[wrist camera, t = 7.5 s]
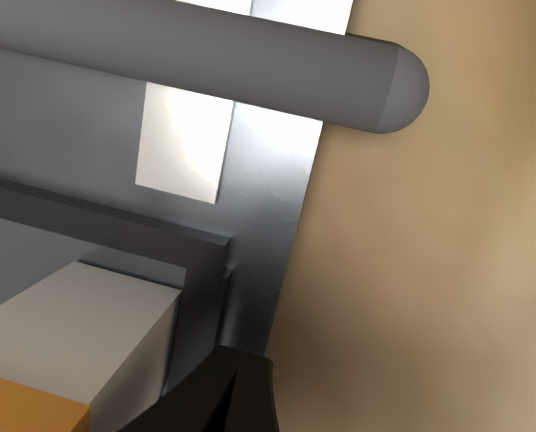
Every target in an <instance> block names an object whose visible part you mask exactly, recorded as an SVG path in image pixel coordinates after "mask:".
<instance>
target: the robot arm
mask: <svg viewBox="0 0 536 432" xmlns="http://www.w3.org/2000/svg"><path fill="white" fill-rule="evenodd" d="M272 369H273V363H272V362H271V360H270V359H269V358H266V357H262V356H259V355H256V354H252V353H249V352H245V351H242V350H238V349H235V348H231V347H228V346H224V345H219V346H217V347H215V348H214V349H213V350H212V352H211V353H210V354H209V355H208V356H207V357H206V358H205V359H204V360H203V361H202V362H201V363H200V364H199V365H198V366H197V367H196V368H195V369H194V370H193V371H192V372H191V373H190V374H188V375H187V376H186V377H185V378H184V379H183V380H182V381H181V382H179V383H178V384H177V385H176V386H175V387H174V388H172V389H171V390H170V391H169V392H168V393H167V394H166V395H164V396H163V397H162V398H161V399H159V400H158V401H157V402H156V403H154V404H153V405H152V406H150V407H149V408H148V409H146V410H145V411H144V412H143V413H141V414H140V415H139V416H137V417H136V418H135V419H133V420H132V421H131V422H129V423H128V424H127V425H125V426H124V427H122V428H121V429H119V430H118V431H117V432H279V426H278V421H277V416H276V409H275V403H274V394H273V382H272Z"/></svg>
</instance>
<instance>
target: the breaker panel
mask: <svg viewBox="0 0 536 432" xmlns="http://www.w3.org/2000/svg"><path fill="white" fill-rule="evenodd" d="M176 1H181V2H186V3H191V4H196V5H200V6H205V7H210V8H215V9H220V10H225V11H230V12H234V13H239V14H244V15H249V16H254V17H259V18H264V19H268V20H273V21H278V22H283V23H288V24H293V25H298V26H302V27H307V28H312V29H317V30H322V31H327V32H332V33H336V34H341V35H345V32H346V30H347V26H348V22H349V18H350V14H351V10H352V6H353V2H354V0H176ZM322 126H323V121H319V120H314V119H310V118H305V117H301V116H297V115H292V114H288V113H283V112H279V111H275V110H270V109H266V108H261V107H257V106H252V105H248V104H244V103H239V102H235V101H230V100H226V99H222V98H217V97H213V96H208V95H204V94H200V93H195V92H191V91H186V90H182V89H177V88H173V87H169V86H164V85H160V84H155V83H151V82H147V81H142V80H138V79H133V78H129V77H124V76H120V75H116V74H111V73H107V72H102V71H98V70H94V69H89V68H85V67H80V66H76V65H72V64H67V63H63V62H58V61H54V60H49V59H45V58H41V57H36V56H32V55H27V54H23V53H19V52H14V51H10V50H5V49H1V48H0V305H1V304H3V303H4V302H6V301H8V300H9V299H11V298H13V297H14V296H16V295H18V294H20V293H21V292H23V291H25V290H26V289H28V288H30V287H31V286H33V285H35V284H36V283H38V282H40V281H41V280H43V279H45V278H46V277H48V276H50V275H51V274H53V273H55V272H57V271H58V270H60V269H62V268H63V267H65V266H67V265H68V264H70V263H72V262H73V261H76V262H80V263H83V264H87V265H90V266H94V267H98V268H101V269H105V270H109V271H112V272H116V273H120V274H123V275H127V276H131V277H134V278H138V279H142V280H145V281H149V282H153V283H156V284H160V285H163V286H167V287H171V288H174V289H178V290H182V293H181V299H180V305H179V311H178V317H177V323H176V329H175V335H174V341H173V347H172V353H171V359H170V365H169V371H168V377H167V383H166V386H165V388H164V390H163V391H162V393H161V395H160V396H159V398H158V400H159V399H161V398H162V397H163V396H164V395H166V394H167V393H168V392H169V391H170V390H171V389H172V388H174V387H175V386H176V385H177V384H178V383H179V382H181V381H182V380H183V379H184V378H185V377H186V376H187V375H188V374H190V373H191V372H192V371H193V370H194V369H195V368H196V367H197V366H198V365H199V364H200V363H201V362H202V361H203V360H204V359H205V358H206V357H207V356H208V355H209V354H210V353H211V352H212V350H213V349H214V348H215V347H217V346H219V345H224V346H228V347H231V348H235V349H238V350H242V351H245V352H249V353H252V354H256V355H259V356H262V357H265V356H266V352H267V348H268V344H269V340H270V336H271V332H272V328H273V324H274V320H275V316H276V312H277V308H278V304H279V300H280V296H281V292H282V288H283V283H284V279H285V275H286V271H287V267H288V263H289V259H290V255H291V251H292V247H293V243H294V239H295V235H296V231H297V227H298V223H299V219H300V215H301V211H302V207H303V203H304V199H305V195H306V191H307V187H308V183H309V179H310V175H311V171H312V167H313V163H314V159H315V155H316V151H317V147H318V143H319V138H320V134H321V130H322ZM158 400H157V401H158ZM157 401H156V402H157Z"/></svg>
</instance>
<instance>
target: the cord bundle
mask: <svg viewBox="0 0 536 432" xmlns="http://www.w3.org/2000/svg"><path fill="white" fill-rule="evenodd" d="M0 48H1V49H5V50H10V51H14V52H19V53H23V54H27V55H32V56H36V57H41V58H45V59H49V60H54V61H58V62H63V63H67V64H72V65H76V66H80V67H85V68H89V69H94V70H98V71H102V72H107V73H111V74H116V75H120V76H124V77H129V78H133V79H138V80H142V81H147V82H151V83H155V84H160V85H164V86H169V87H173V88H177V89H182V90H186V91H191V92H195V93H200V94H204V95H208V96H213V97H217V98H222V99H226V100H230V101H235V102H239V103H244V104H248V105H252V106H257V107H261V108H266V109H270V110H275V111H279V112H283V113H288V114H292V115H297V116H301V117H305V118H310V119H314V120H319V121H323V122H328V123H332V124H336V125H341V126H345V127H350V128H354V129H358V130H363V131H367V132H372V133H379V134H382V133H391V132H395V131H398V130H400V129H402V128H404V127H406V126H408V125H409V124H410V123H412V122H413V121H414V120H415V119H416V118H417V117H418V116H419V115H420V113H421V111H422V110H423V108H424V106H425V104H426V102H427V99H428V95H429V77H428V73H427V71H426V68H425V66H424V65H423V63H422V62H421V60H420V59H419V58H418V57H417V56H416V55H415V54H414V53H412V52H411V51H409V50H407V49H405V48H404V47H402V46H400V45H399V44H396V43H393V42H390V41H385V40H380V39H375V38H370V37H365V36H360V35H355V34H351V33H346V32H345V35H341V34H336V33H332V32H327V31H322V30H317V29H312V28H307V27H302V26H298V25H293V24H288V23H283V22H278V21H273V20H268V19H264V18H259V17H254V16H249V15H244V14H239V13H234V12H230V11H225V10H220V9H215V8H210V7H205V6H200V5H196V4H191V3H186V2H181V1H176V0H0Z"/></svg>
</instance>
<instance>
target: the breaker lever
mask: <svg viewBox="0 0 536 432" xmlns="http://www.w3.org/2000/svg"><path fill="white" fill-rule="evenodd" d="M181 293H182V290H178V289H174V288H171V287H167V286H163V285H160V284H156V283H153V282H149V281H145V280H142V279H138V278H134V277H131V276H127V275H123V274H120V273H116V272H112V271H109V270H105V269H101V268H98V267H94V266H90V265H87V264H83V263H80V262H76V261H73V262H72V263H70V264H68V265H67V266H65V267H63V268H62V269H60V270H58V271H57V272H55V273H53V274H51V275H50V276H48V277H46V278H45V279H43V280H41V281H40V282H38V283H36V284H35V285H33V286H31V287H30V288H28V289H26V290H25V291H23V292H21V293H20V294H18V295H16V296H14V297H13V298H11V299H9V300H8V301H6V302H4V303H3V304H1V305H0V432H117V431H118V430H119V429H121V428H122V427H124V426H125V425H127V424H128V423H129V422H131V421H132V420H133V419H135V418H136V417H137V416H139V415H140V414H141V413H143V412H144V411H145V410H146V409H148V408H149V407H150V406H152V405H153V404H154V403H156V401H157V400H158V398H159V396H160V395H161V393H162V391H163V390H164V388H165V386H166V383H167V377H168V371H169V365H170V359H171V353H172V347H173V341H174V335H175V329H176V323H177V317H178V311H179V305H180V299H181Z"/></svg>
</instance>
